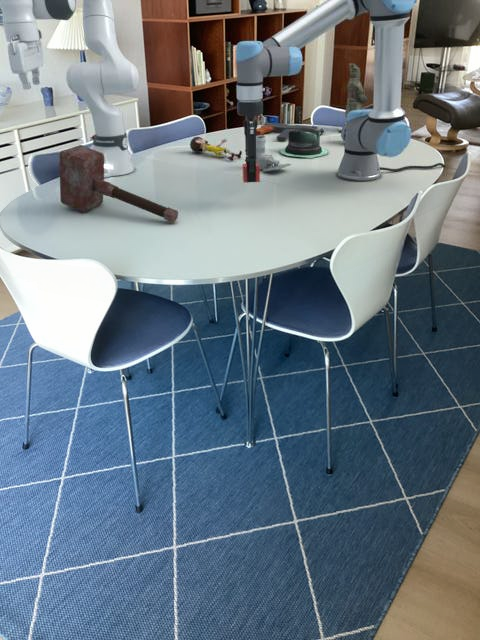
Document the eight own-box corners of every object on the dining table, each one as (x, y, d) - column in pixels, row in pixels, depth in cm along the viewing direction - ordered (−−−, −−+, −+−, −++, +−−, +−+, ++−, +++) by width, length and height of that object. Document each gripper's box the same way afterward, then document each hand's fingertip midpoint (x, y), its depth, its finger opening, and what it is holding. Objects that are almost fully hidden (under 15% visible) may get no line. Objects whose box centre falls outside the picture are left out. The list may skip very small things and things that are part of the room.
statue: (367, 132, 266) (374, 63, 251) (349, 133, 264) (355, 64, 249) (357, 127, 275) (362, 61, 260) (339, 129, 273) (344, 62, 258)
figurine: (227, 151, 220) (181, 135, 232) (225, 170, 224) (181, 153, 236) (247, 145, 228) (203, 130, 241) (246, 163, 233) (202, 147, 245)
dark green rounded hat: (332, 145, 241) (326, 158, 224) (294, 164, 249) (286, 177, 233) (317, 113, 235) (310, 124, 219) (279, 133, 244) (269, 145, 228)
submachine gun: (243, 132, 260) (267, 122, 278) (243, 138, 261) (267, 127, 280) (305, 138, 246) (326, 127, 265) (305, 144, 248) (326, 133, 266)
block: (259, 181, 172) (259, 166, 170) (243, 182, 172) (243, 167, 170) (258, 178, 176) (258, 163, 173) (242, 178, 176) (242, 163, 173)
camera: (261, 133, 214) (291, 139, 206) (260, 163, 220) (290, 170, 212) (246, 137, 209) (277, 143, 200) (246, 168, 215) (276, 176, 206)
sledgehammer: (186, 184, 163) (79, 143, 174) (168, 194, 155) (57, 150, 167) (180, 236, 173) (79, 194, 184) (163, 248, 165) (58, 203, 177)
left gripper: (21, 36, 147) (32, 91, 154) (43, 31, 165) (51, 81, 172) (-3, 36, 147) (9, 92, 154) (21, 32, 165) (31, 82, 172)
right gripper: (265, 105, 155) (265, 187, 166) (260, 95, 169) (260, 171, 181) (238, 105, 154) (240, 188, 166) (235, 96, 169) (237, 172, 181)
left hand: (32, 86), depth 163 cm, fingers open, 8 cm apart
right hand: (250, 179), depth 174 cm, fingers closed on block, 4 cm apart
